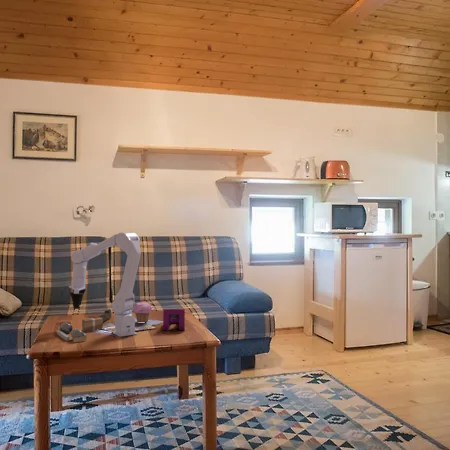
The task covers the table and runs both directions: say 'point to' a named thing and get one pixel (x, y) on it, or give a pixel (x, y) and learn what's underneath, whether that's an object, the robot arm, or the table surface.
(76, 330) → the near shaft stub
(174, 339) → the table surface
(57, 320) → the table surface
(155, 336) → the table surface
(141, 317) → the cupcake
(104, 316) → the dark brown rough bar
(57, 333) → the cradle
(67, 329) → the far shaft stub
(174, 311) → the mounting bracket
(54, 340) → the table surface
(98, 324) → the block
